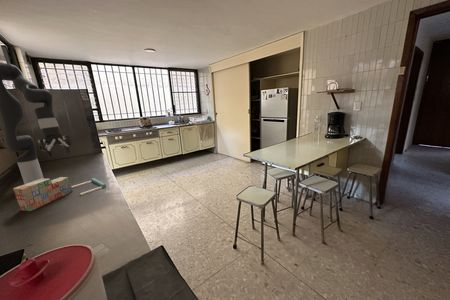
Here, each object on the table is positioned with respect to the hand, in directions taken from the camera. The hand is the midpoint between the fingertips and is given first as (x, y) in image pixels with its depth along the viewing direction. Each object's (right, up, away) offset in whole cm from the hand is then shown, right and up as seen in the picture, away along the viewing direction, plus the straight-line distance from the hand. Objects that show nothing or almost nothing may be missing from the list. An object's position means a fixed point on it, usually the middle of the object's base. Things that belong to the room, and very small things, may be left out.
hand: (59, 155), depth 103 cm
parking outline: (+7, -21, +11) cm, 25 cm away
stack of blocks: (-4, -25, -2) cm, 25 cm away
